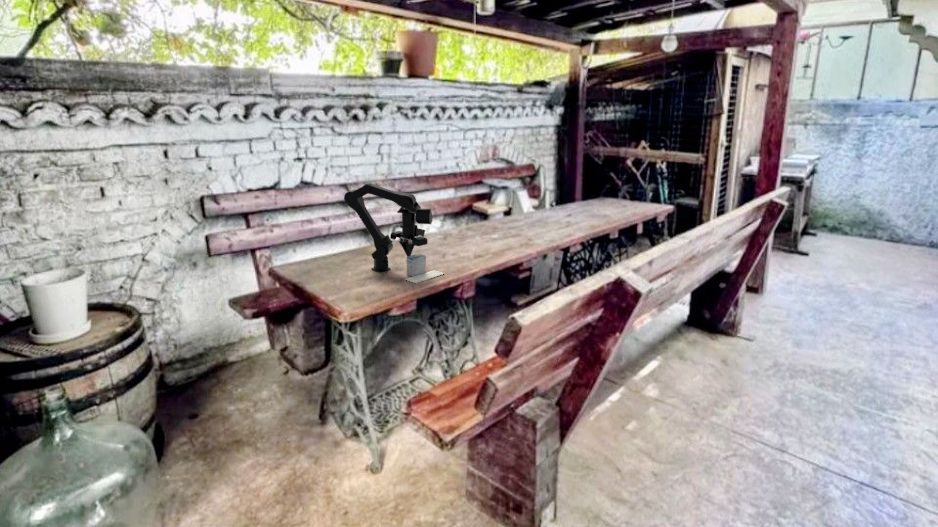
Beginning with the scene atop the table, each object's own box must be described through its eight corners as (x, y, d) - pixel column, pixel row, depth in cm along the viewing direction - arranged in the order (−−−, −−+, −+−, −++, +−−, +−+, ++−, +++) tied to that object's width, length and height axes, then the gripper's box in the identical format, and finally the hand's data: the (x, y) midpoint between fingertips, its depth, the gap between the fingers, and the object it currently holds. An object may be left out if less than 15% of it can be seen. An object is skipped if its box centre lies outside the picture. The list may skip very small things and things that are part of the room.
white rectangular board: (404, 280, 221) (404, 279, 220) (434, 271, 234) (434, 270, 233) (415, 283, 217) (415, 282, 216) (444, 274, 229) (444, 273, 229)
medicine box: (418, 271, 233) (418, 253, 230) (426, 273, 230) (426, 255, 228) (406, 275, 227) (406, 256, 224) (413, 277, 224) (413, 258, 222)
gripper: (436, 223, 225) (436, 257, 230) (407, 216, 237) (408, 249, 241) (418, 227, 217) (418, 262, 222) (389, 220, 228) (389, 253, 233)
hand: (408, 256), depth 230 cm, fingers closed
